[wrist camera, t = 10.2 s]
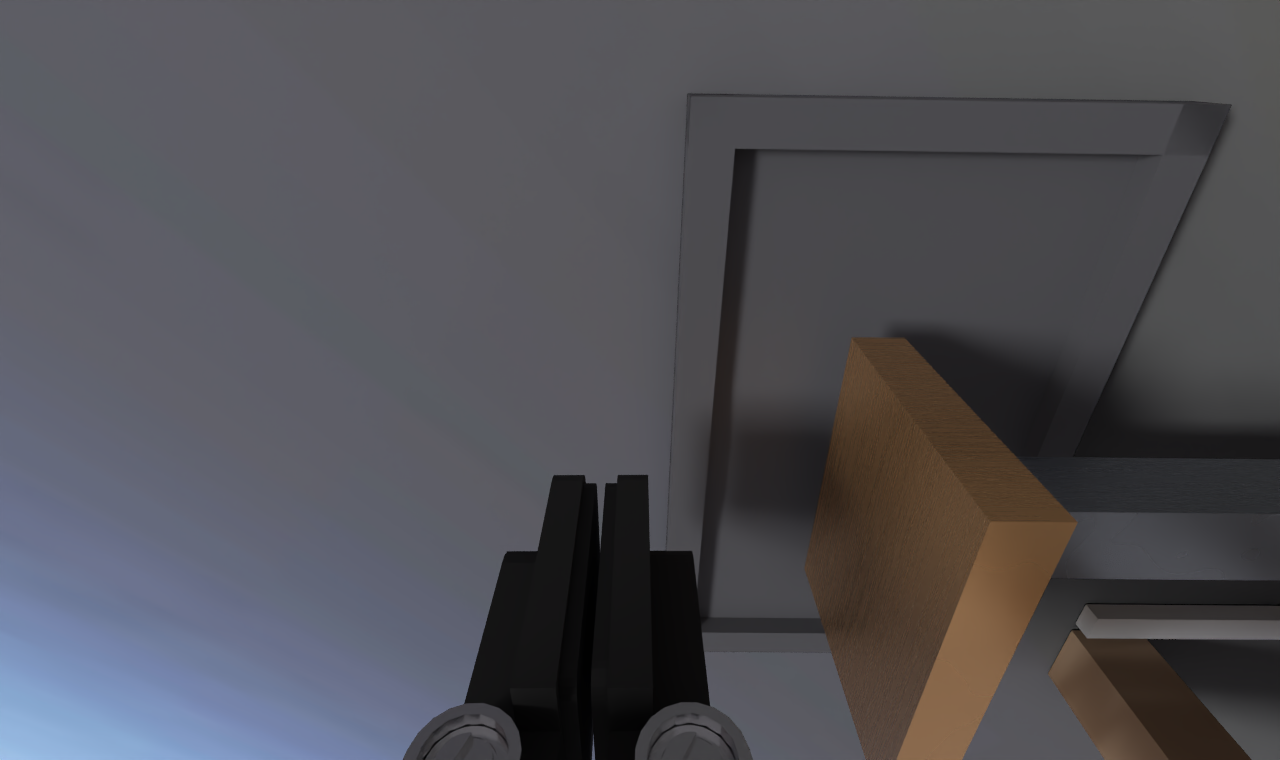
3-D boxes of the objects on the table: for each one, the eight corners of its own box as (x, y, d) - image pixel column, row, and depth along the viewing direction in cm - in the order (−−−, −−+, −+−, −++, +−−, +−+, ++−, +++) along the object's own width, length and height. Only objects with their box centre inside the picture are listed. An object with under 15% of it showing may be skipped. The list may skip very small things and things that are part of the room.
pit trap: (687, 93, 10) (690, 96, 10) (1192, 101, 11) (1231, 104, 10) (661, 627, 17) (663, 651, 16) (969, 629, 17) (983, 653, 17)
